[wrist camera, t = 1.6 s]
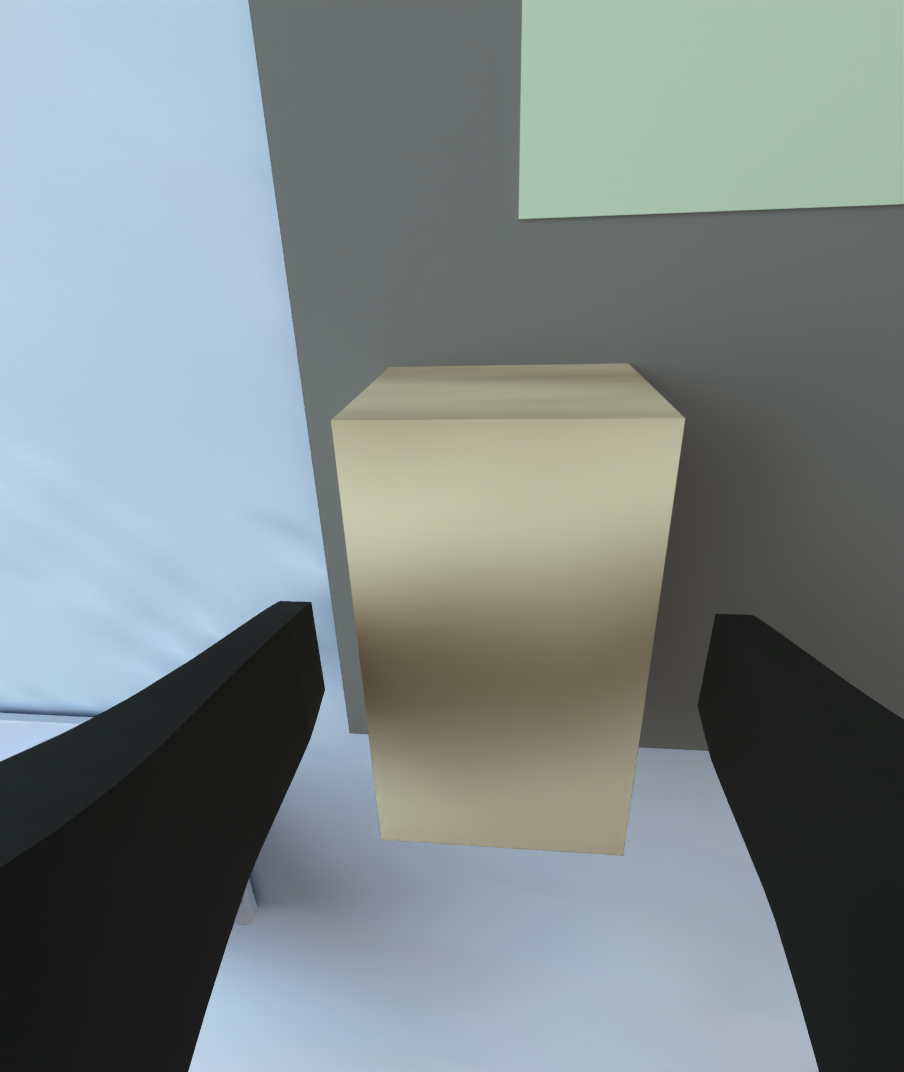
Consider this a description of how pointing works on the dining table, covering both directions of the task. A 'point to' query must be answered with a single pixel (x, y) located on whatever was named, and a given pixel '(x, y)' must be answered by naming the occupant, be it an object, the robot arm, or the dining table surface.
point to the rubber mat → (626, 272)
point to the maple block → (506, 594)
